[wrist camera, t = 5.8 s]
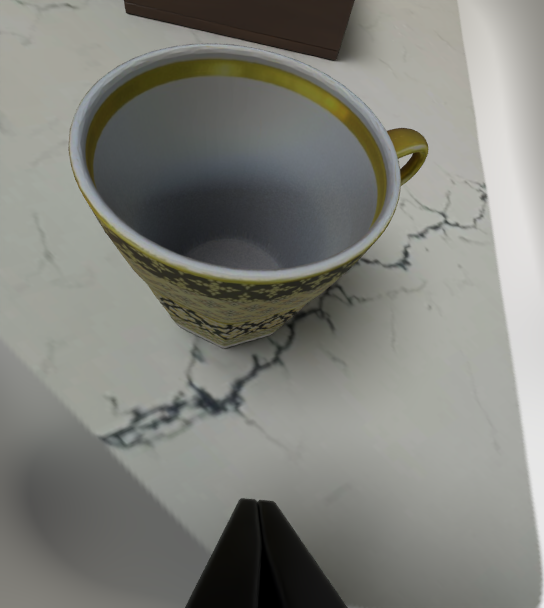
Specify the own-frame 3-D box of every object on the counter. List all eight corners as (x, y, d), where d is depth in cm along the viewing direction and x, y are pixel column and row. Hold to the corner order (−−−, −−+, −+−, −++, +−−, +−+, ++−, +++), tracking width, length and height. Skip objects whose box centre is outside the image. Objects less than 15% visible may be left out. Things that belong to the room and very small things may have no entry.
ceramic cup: (158, 408, 16) (97, 325, 7) (119, 237, 20) (48, 44, 11) (389, 333, 20) (533, 220, 11) (320, 201, 24) (388, 37, 15)
